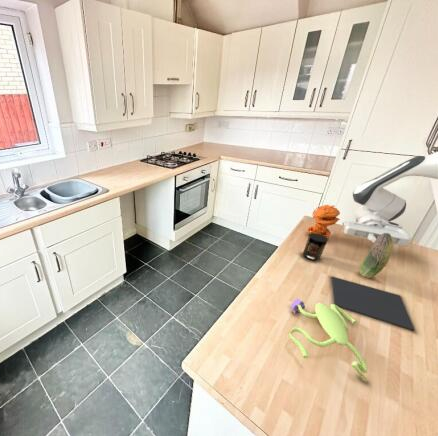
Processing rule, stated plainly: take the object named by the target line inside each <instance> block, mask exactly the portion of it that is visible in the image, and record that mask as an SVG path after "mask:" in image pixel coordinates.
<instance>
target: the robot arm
mask: <svg viewBox="0 0 438 436" xmlns="http://www.w3.org/2000/svg"><path fill="white" fill-rule="evenodd" d="M405 177H423V178H429V179H435V180H438V151H436V152H434V153H430V154H427V155H417V156H414V157H412V158H409V159H408V160H405V161H403V162H402V163H400V164H398V165H396V166H394V167H393V168H390V169H388V170H387V171H385V172H384V173H382V174H380V175H377V176H376V177H374V178H371V179H370V180H368V181H366V182H362V183H361V184H359V185H358V186H357V187H356V188H354V189H353V191H352V198H353V201H354V202H355V203H357V204H358V205H361V206H359V207H358V208H357V209H356V211H355V214H354V219H355V221H354V220H347V221H342V226H343V233H344V234H345V235H348V236H351V237H356V238H360V239H366V240H369V241H370V242H372V244H374V243H375V241H376V240H377V239H378V238H379V237H380V236H381V235H382V234H383V233H389V234H390V235H391V238H392V241H393V245H396V246H400V247H407V246H409V244H410V243H411V241H412V237H411V236H410V234H409V233H408V231H406V230H405V229H404V228H403V226H402V224H400V223H396V222H393V221H395V220H396V219H398V218H400V217H401V216H403V214H404V213H405V212H406V209H407V201H406V199H404V198H403V197H401V196H398V195H397V194H395V193H394V192H391V191H390V190H388V189H386V187H387V186H389V185H391V184H392V183H394V182H397V181H399V180H400V179H403V178H405Z"/></svg>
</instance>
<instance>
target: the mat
mask: <svg viewBox="0 0 438 436" xmlns="http://www.w3.org/2000/svg"><path fill="white" fill-rule="evenodd" d="M331 283H332V293H333V304H335V305H337V306H338V307H339V308H341V309H343V310H347V311H349V312H353V313H357V314H359V315H363V316H365V317H368V318H371V319H375V320H378V321H381V322H384V323H387V324H390V325H394V326H397V327H399V328H403V329H406V330H409V331H412V332H415V327H414V325H413V322H412V320H411V318H410V315H409V313H408V311H407V308H406V306H405V304H404V301H403V299H402V297H401V295H399V294H396V293H393V292H389V291H385V290H382V289H378V288H375V287H371V286H367V285H364V284H360V283H357V282H353V281H351V280H350V281H349V280H346V279H342V278H339V277H335V276H331Z"/></svg>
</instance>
